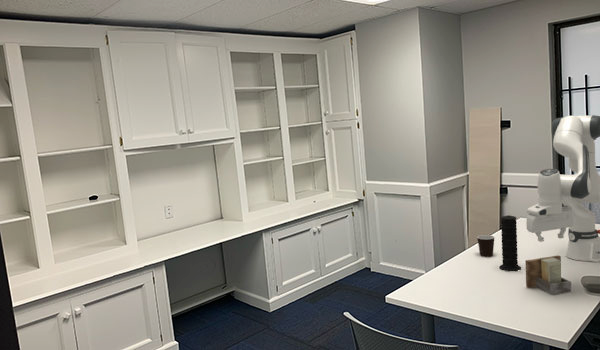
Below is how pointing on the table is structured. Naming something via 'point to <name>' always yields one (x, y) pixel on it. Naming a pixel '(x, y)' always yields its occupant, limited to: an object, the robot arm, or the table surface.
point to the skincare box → (551, 270)
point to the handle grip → (509, 244)
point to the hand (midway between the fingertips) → (550, 239)
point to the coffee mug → (486, 245)
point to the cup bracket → (536, 280)
